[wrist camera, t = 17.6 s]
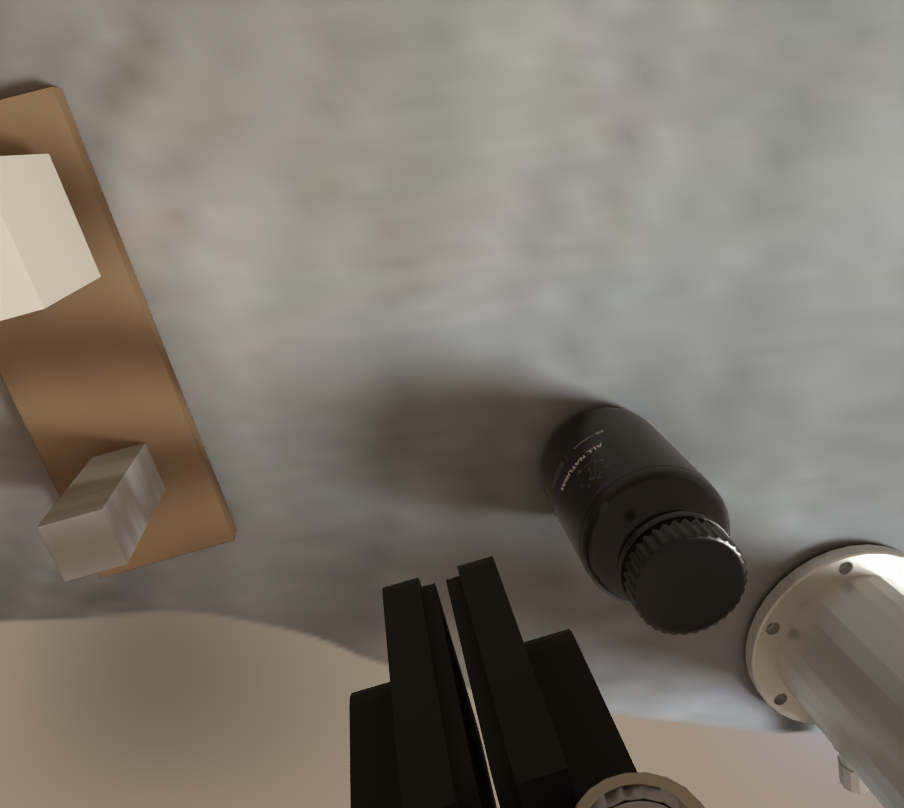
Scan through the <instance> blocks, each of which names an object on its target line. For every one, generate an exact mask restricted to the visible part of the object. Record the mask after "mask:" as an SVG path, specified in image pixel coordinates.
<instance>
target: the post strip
mask: <svg viewBox="0 0 904 808" xmlns="http://www.w3.org/2000/svg"><path fill="white" fill-rule="evenodd" d="M32 154H49V155H50V157H51V160H52V162H53V164H54V167H55V169H56V172H57V174H58V176H59V179H60V181H61V183H62V186H63V188H64V190H65V193H66V195H67V197H68V200H69V202H70V205H71V207H72V209H73V212H74V214H75V216H76V219H77V221H78V223H79V226H80V228H81V231H82V233H83V235H84V238H85V240H86V242H87V245H88V247H89V249H90V252H91V254H92V256H93V259H94V261H95V264H96V266H97V268H98V271H99V273H100V275H101V277H100V278H98V279H96V280H94V281H93V282H91V283H89V284H87V285H86V286H84V287H82V288H80V289H78V290H77V291H75V292H73V293H71V294H70V295H68V296H66V297H64V298H63V299H61V300H59V301H57V302H56V303H54V304H52V305H50V306H49V307H47V308H45V309H42V310H38V311H35V312H31V313H28V314H24V315H20V316H17V317H13V318H9V319H6V320H2V321H0V374H1V376H2V378H3V380H4V382H5V384H6V386H7V388H8V390H9V392H10V394H11V396H12V399H13V401H14V403H15V405H16V407H17V409H18V411H19V413H20V415H21V417H22V419H23V421H24V423H25V425H26V427H27V429H28V431H29V434H30V436H31V438H32V440H33V442H34V444H35V446H36V448H37V450H38V452H39V454H40V456H41V458H42V460H43V462H44V464H45V466H46V469H47V471H48V473H49V475H50V477H51V479H52V481H53V483H54V485H55V487H56V489H57V491H58V493H59V495H60V498H59V500H58V501H57V502H56V503H55V505H54V506H53V507H52V509H51V510H50V511H49V512H48V514H47V515H46V516H45V517H44V519H43V520H42V521H41V522H40V524H39V525H38V526H37V529H38V531H39V533H40V535H41V537H42V539H43V541H44V543H45V545H46V547H47V549H48V551H49V553H50V555H51V557H52V559H53V561H54V563H55V565H56V566H57V568H58V570H59V572H60V574H61V576H62V578H63V580H64V582H66V581H69V580H73V579H76V578H80V577H83V576H87V575H90V574H94V573H97V574H98V576H99V578H102V577H105V576H109V575H113V574H116V573H120V572H123V571H127V570H130V569H134V568H137V567H141V566H144V565H148V564H151V563H155V562H158V561H162V560H166V559H169V558H173V557H176V556H180V555H183V554H187V553H190V552H194V551H197V550H201V549H204V548H208V547H212V546H215V545H219V544H222V543H226V542H229V541H233V540H234V539H235V536H236V532H237V530H236V527H235V525H234V522H233V519H232V517H231V514H230V512H229V509H228V507H227V504H226V502H225V499H224V497H223V494H222V492H221V489H220V487H219V484H218V482H217V479H216V477H215V474H214V472H213V469H212V467H211V464H210V462H209V459H208V457H207V454H206V451H205V449H204V446H203V444H202V441H201V439H200V436H199V434H198V431H197V429H196V426H195V424H194V421H193V419H192V416H191V414H190V411H189V409H188V406H187V404H186V401H185V399H184V396H183V394H182V391H181V389H180V386H179V383H178V381H177V378H176V376H175V373H174V371H173V368H172V366H171V363H170V361H169V358H168V356H167V353H166V351H165V348H164V346H163V343H162V341H161V338H160V336H159V333H158V331H157V328H156V326H155V323H154V321H153V318H152V315H151V313H150V310H149V308H148V305H147V303H146V300H145V298H144V295H143V293H142V290H141V288H140V285H139V283H138V280H137V278H136V275H135V273H134V270H133V268H132V265H131V263H130V260H129V258H128V255H127V253H126V250H125V247H124V245H123V242H122V240H121V237H120V235H119V232H118V230H117V227H116V225H115V222H114V220H113V217H112V215H111V212H110V210H109V207H108V205H107V202H106V200H105V197H104V195H103V192H102V190H101V187H100V185H99V182H98V179H97V177H96V174H95V172H94V169H93V167H92V164H91V162H90V159H89V157H88V154H87V152H86V149H85V147H84V144H83V142H82V139H81V137H80V134H79V132H78V129H77V127H76V124H75V122H74V119H73V117H72V114H71V112H70V109H69V106H68V104H67V101H66V99H65V96H64V94H63V91H62V89H61V88H58V87H49V88H45V89H41V90H37V91H33V92H29V93H25V94H21V95H17V96H13V97H9V98H5V99H1V100H0V156H11V155H32Z"/></svg>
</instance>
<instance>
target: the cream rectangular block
mask: <svg viewBox="0 0 904 808" xmlns="http://www.w3.org/2000/svg"><path fill="white" fill-rule="evenodd" d="M100 277H101V275H100V273H99V271H98V268H97V266H96V264H95V261H94V259H93V256H92V254H91V252H90V249H89V247H88V245H87V242H86V240H85V238H84V235H83V233H82V231H81V228H80V226H79V223H78V221H77V219H76V216H75V214H74V212H73V209H72V207H71V205H70V202H69V200H68V197H67V195H66V193H65V190H64V188H63V186H62V183H61V181H60V179H59V176H58V174H57V172H56V169H55V167H54V164H53V162H52V160H51V157H50V155H49V154H32V155H11V156H0V321H2V320H6V319H9V318H13V317H17V316H20V315H24V314H28V313H31V312H35V311H38V310H42V309H45V308H47V307H49V306H50V305H52V304H54V303H56V302H57V301H59V300H61V299H63V298H64V297H66V296H68V295H70V294H71V293H73V292H75V291H77V290H78V289H80V288H82V287H84V286H86V285H87V284H89V283H91V282H93V281H94V280H96V279H98V278H100Z"/></svg>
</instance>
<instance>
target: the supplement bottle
mask: <svg viewBox="0 0 904 808" xmlns="http://www.w3.org/2000/svg"><path fill="white" fill-rule="evenodd" d="M541 479H542V484H543V487H544V490H545V493H546V495H547V497H548V499H549V501H550V503H551V505H552V507H553V509H554V511H555V513H556V515H557V517H558V518H559V520H560V522H561V524H562V526H563V528H564V530H565V532H566V534H567V535H568V537H569V539H570V541H571V543H572V545H573V547H574V549H575V550H576V552H577V554H578V556H579V558H580V560H581V562H582V564H583V566H584V567H585V569H586V571H587V572H588V574H589V575H590V577H591V579H592V580H593V581H594V582H595V584H596V585H597V586H598V587H599V588H600V589H601V590H603V591H604V592H605V593H606V594H608V595H610V596H611V597H613V598H615V599H617V600H619V601H622V602H625V603H628V604H632V605H633V606H634V608H635V610H636V612H637V613H638V615H639V616H640V617H641V618H643V620H644V621H645V623H646V624H648V625H651V626H652V627H653V628H654V629H655V630H661V631H662V632H663V633H671V634H673V635H677V634H682V635H687V634H689V633H697V632H699V631H701V630H706V629H708V628H709V627H710V626H713V625H716V624H717V623H718V622H719V621H720V620H722V619H724V618H726V616H727V615H728V613H730V612H731V611H732V610H734V608H735V605H736V604H737V603H738V602H739V601H740V599H741V595H742V594H743V593H744V591H745V588H744V586H745V584H746V583H747V579H746V575H747V570H746V568H745V565H746V562H745V560H744V559H743V558H742V553H741V551H740V550H739V549H738V548H737V547H736V545H735V544H734V542H733V541H732V540H731V539H730V522H729V515H728V511H727V508H726V506H725V503H724V501H723V499H722V498H721V496H720V495H719V493H718V492H717V491H716V489H715V488H714V487H713V486H712V485H711V484H710V483H709V481H708V480H707V479H706V478H705V477H704V476H703V475H701V474H700V473H699V472H698V471H697V470H696V469H695V468H694V467H693V466H692V465H691V464H690V463H689V462H688V461H687V460H686V459H685V458H684V457H683V456H682V455H681V454H680V453H679V452H678V451H677V450H676V449H675V448H674V447H673V446H672V445H671V444H670V443H669V442H668V441H667V440H666V439H665V438H664V437H663V436H662V435H661V434H660V433H659V432H658V431H657V430H656V429H655V428H654V427H653V426H652V425H651V424H649V423H648V422H647V421H646V420H645V419H643V418H642V417H641V416H639V415H637V414H635V413H633V412H631V411H628V410H625V409H621V408H614V407H603V408H596V409H591V410H588V411H585V412H583V413H580V414H578V415H576V416H574V417H573V418H571V419H570V420H568V421H567V422H566V423H564V424H563V425H562V426H561V427H560V428H559V429H558V430H557V431H556V432H555V434H554V435H553V436H552V438H551V439H550V441H549V443H548V445H547V447H546V449H545V451H544V455H543V458H542V464H541Z"/></svg>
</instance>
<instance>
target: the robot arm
mask: <svg viewBox="0 0 904 808" xmlns="http://www.w3.org/2000/svg"><path fill="white" fill-rule="evenodd" d="M457 567H458V570H459V574H460V576H458V577H455V578H451V579H448V580H446V582H447V587H448V591H449V595H450V599H451V604H452V608H453V612H454V617H455V621H456V625H457V629H458V634H459V638H460V642H461V647H462V651H463V655H464V659H465V664H466V668H467V672H468V676H469V681H470V685H471V689H472V694H473V698H474V702H475V706H476V711H477V715H478V719H479V723H480V728H481V732H482V736H483V740H484V745H485V749H486V754H487V758H488V761H489V766H490V770H491V774H492V778H493V782H494V786H495V790H496V793H497V797H498V801H499V804H500V808H704V806H703V805H702V804H701V802H700V801H699V800H698V799H697V798H696V797H695V796H693V794H692V793H690V791H689V790H687V788H686V787H684V786H682V785H680V784H678V783H676V782H675V781H673V780H671V779H669V778H667V777H663V776H659V775H655V774H651V773H647V772H643V773H637V771H636V768H635V766H634V764H633V762H632V760H631V758H630V756H629V753H628V751H627V749H626V747H625V745H624V743H623V740H622V738H621V736H620V734H619V732H618V730H617V728H616V725H615V723H614V721H613V719H612V717H611V715H610V713H609V710H608V708H607V706H606V704H605V702H604V700H603V697H602V695H601V693H600V691H599V689H598V687H597V685H596V682H595V680H594V678H593V676H592V674H591V672H590V670H589V667H588V665H587V663H586V661H585V659H584V657H583V654H582V652H581V650H580V648H579V646H578V644H577V642H576V639H575V637H574V636H573V634H572V632H571V631H570V630H569V629H568V630H564V631H561V632H558V633H554V634H551V635H547V636H544V637H541V638H537V639H534V640H530V641H527V642H524V643H523V640H522V637H521V634H520V631H519V629H518V626H517V623H516V620H515V617H514V615H513V612H512V609H511V606H510V604H509V601H508V598H507V595H506V592H505V590H504V587H503V584H502V581H501V578H500V576H499V573H498V570H497V567H496V564H495V562H494V559H493V557H492V556H491V557H488V558H484V559H481V560H478V561H474V562H471V563H467V564H464V565H460V566H457ZM382 591H383V604H384V615H385V627H386V638H387V650H388V661H389V673H390V682H388V683H385V684H381V685H378V686H374V687H371V688H367V689H364V690H361V691H358V692H354V693H352V694H351V696H350V783H351V808H497V807H496V802H495V798H494V794H493V790H492V785H491V781H490V777H489V772H488V768H487V763H486V760H485V755H484V750H483V746H482V742H481V738H480V734H479V731H478V727H477V723H476V720H475V717H474V713H473V710H472V707H471V703H470V699H469V696H468V693H467V689H466V686H465V683H464V679H463V676H462V672H461V669H460V666H459V662H458V659H457V655H456V652H455V649H454V645H453V642H452V639H451V635H450V632H449V628H448V625H447V622H446V618H445V615H444V612H443V608H442V605H441V601H440V598H439V595H438V591H437V588H436V585H435V583H434V584H430V585H427V586H423V587H422V586H421V583H420V580H419V578H415V579H412V580H408V581H405V582H401V583H398V584H394V585H391V586H387V587H384V588H383V589H382ZM746 665H747V669H748V673H749V677H750V679H751V681H752V682H753V684H754V686H755V688H756V690H757V691H758V692H759V693H760V695H761V696H762V697H763V699H764V700H765V701H766V703H767V704H768V705H770V706H771V707H772V708H773V709H774V710H775V711H777V712H778V713H779V714H781V715H783V716H786V717H788V718H790V719H792V720H795V721H799V722H803V723H807V724H816V725H817V726H818V727H819V729H820V730H821V731H822V732H823V733H824V735H825V736H826V737H827V738H828V740H829V741H830V742H831V743H832V745H833V747H834V749H835V750H836V751H838V752H839V755H838V767H839V779H840V783H841V784H842V785H843V787H844V788H846V789H847V790H849V791H851V792H854V793H859V794H861V793H866V792H868V791H871V793H872V794H873V795H874V797H875V798H876V799H877V800H878V801H879V803H880V804H881V805H882V806H883V807H884V808H904V553H903V552H901V551H898V550H895V549H892V548H889V547H886V546H878V545H869V544H867V545H854V546H847V547H843V548H839V549H835V550H831V551H829V552H826V553H824V554H822V555H819V556H817V557H815V558H812V559H811V560H809V561H807V562H806V563H804V564H802V565H801V566H799V567H798V568H796V569H795V570H793V571H792V572H791V573H790V574H789V575H787V576H786V577H785V578H784V579H783V580H781V581H780V582H779V583H778V584H777V585H776V587H775V588H774V589H773V590H772V591H771V592H770V593H769V595H768V596H767V597H766V598H765V600H764V601H763V603H762V605H761V606H760V608H759V609H758V611H757V612H756V614H755V617H754V619H753V622H752V624H751V627H750V629H749V633H748V638H747V643H746Z"/></svg>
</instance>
